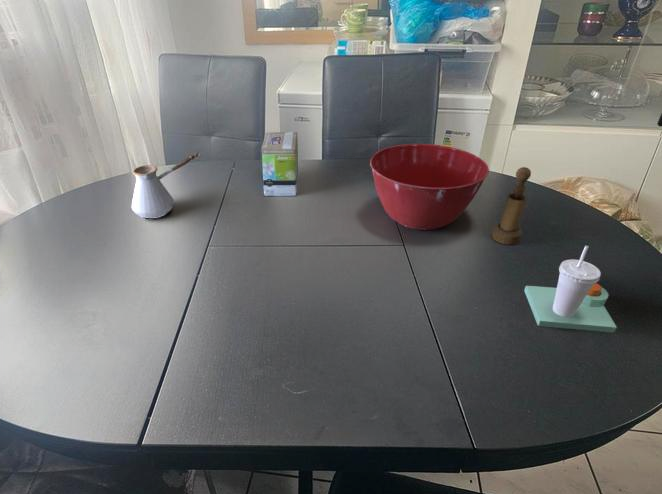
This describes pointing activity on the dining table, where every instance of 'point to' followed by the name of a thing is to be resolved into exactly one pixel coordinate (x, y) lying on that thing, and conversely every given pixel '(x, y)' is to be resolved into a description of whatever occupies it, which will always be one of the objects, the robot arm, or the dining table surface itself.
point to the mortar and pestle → (513, 212)
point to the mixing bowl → (426, 183)
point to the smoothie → (574, 284)
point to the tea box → (280, 163)
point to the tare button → (595, 290)
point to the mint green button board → (585, 318)
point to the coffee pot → (153, 191)
